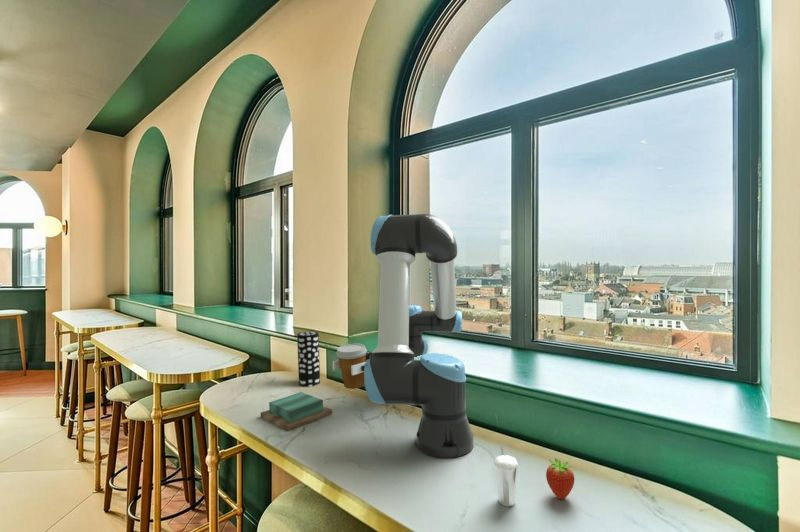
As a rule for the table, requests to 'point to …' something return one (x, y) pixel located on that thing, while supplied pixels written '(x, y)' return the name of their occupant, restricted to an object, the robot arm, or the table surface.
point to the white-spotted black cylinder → (308, 358)
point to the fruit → (560, 478)
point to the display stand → (295, 411)
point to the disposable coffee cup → (351, 364)
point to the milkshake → (506, 478)
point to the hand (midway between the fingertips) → (342, 368)
